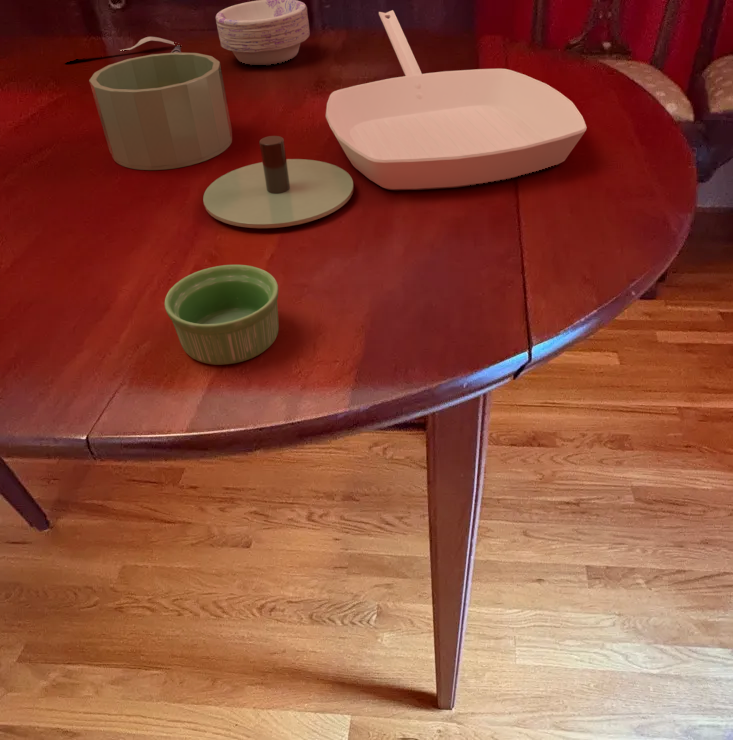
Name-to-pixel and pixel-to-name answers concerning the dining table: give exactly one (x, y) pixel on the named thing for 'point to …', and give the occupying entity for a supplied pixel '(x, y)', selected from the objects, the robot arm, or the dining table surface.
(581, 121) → the pan
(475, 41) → the dining table surface
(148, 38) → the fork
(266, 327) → the ramekin
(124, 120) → the pot
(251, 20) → the paper bowls
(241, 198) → the lid
